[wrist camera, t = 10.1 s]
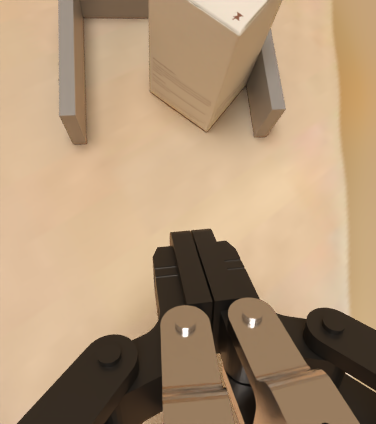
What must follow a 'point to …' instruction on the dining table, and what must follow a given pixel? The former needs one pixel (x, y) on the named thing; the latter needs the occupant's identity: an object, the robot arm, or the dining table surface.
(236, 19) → the supplement box
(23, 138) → the dining table surface
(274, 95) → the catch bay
